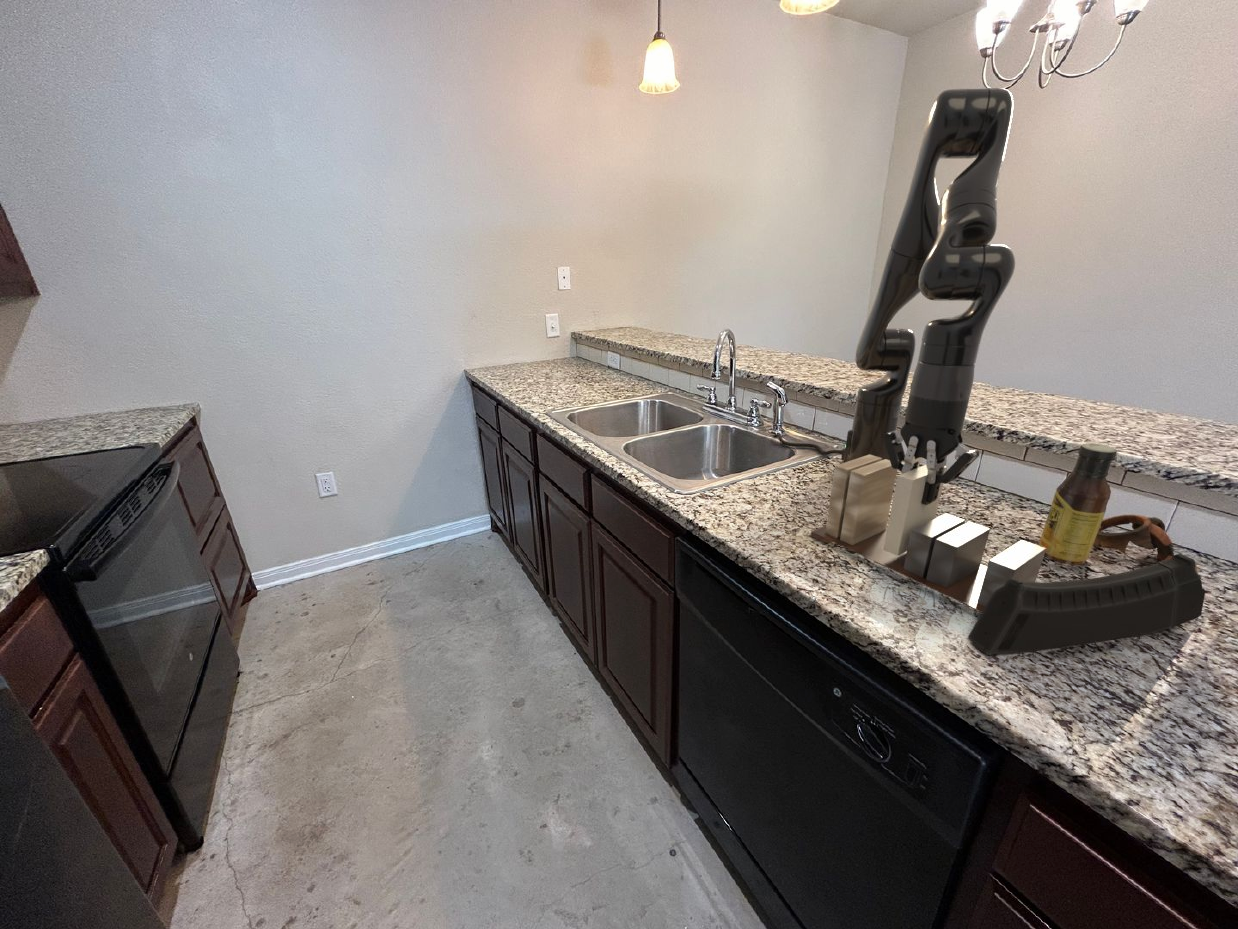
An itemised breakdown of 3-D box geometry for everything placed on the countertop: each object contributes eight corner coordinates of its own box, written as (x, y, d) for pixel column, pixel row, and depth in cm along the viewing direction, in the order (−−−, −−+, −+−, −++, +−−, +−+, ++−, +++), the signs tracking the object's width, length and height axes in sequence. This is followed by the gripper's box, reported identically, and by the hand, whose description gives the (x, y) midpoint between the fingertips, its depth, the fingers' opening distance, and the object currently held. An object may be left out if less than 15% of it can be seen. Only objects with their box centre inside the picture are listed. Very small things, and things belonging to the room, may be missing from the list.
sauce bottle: (1038, 546, 86) (1073, 436, 79) (1086, 560, 82) (1128, 445, 74) (1032, 561, 81) (1068, 446, 74) (1082, 576, 77) (1126, 456, 70)
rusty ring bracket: (1168, 585, 75) (1146, 537, 75) (1091, 580, 84) (1071, 537, 84) (1199, 546, 80) (1178, 501, 79) (1123, 545, 89) (1104, 504, 88)
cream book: (883, 549, 80) (897, 475, 76) (916, 533, 85) (931, 462, 81) (897, 556, 79) (913, 480, 74) (931, 538, 84) (947, 466, 79)
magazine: (986, 605, 57) (1222, 514, 58) (963, 588, 60) (1188, 503, 61) (989, 708, 63) (1202, 625, 64) (968, 688, 66) (1172, 609, 67)
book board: (810, 536, 91) (820, 464, 86) (854, 517, 97) (865, 450, 92) (1007, 630, 66) (1036, 537, 61) (1047, 597, 72) (1077, 511, 67)
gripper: (1005, 398, 69) (976, 509, 76) (906, 382, 81) (888, 481, 87) (979, 405, 66) (951, 522, 72) (879, 388, 77) (862, 491, 83)
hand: (916, 499), depth 79 cm, fingers closed on cream book, 2 cm apart
